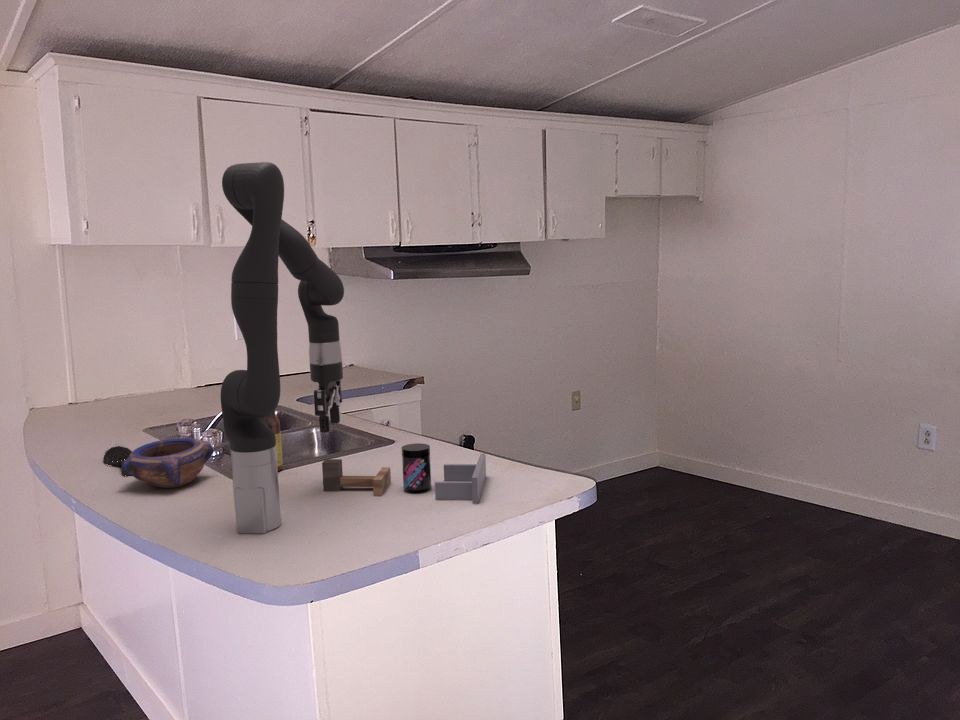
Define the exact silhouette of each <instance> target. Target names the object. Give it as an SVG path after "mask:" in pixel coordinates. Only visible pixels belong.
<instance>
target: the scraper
mask: <svg viewBox="0 0 960 720" xmlns="http://www.w3.org/2000/svg"><path fill="white" fill-rule="evenodd" d="M321 466H322V467H321V468H322V483H323V484H322V485H323V492H341V491H342V489H343V488H372V489H373V492H372V493H373V497H383V495H384V494H385V492H386V491H387V490H388V488H389V487H388V486H390V485H391V484H390V483H392V480H391V479H392V477H391V467H385V466H384V467H383V466H382V467H381V468H380V470H379V471H378V473H377V474H376V475H343V474H344V472H343V459H341V458H340V459H339V458H337V459H335V458H334V459H332V458H331V459H330V458H329V459H328V458H326V459H324V460H323V461H322V463H321ZM386 489H387V490H386Z"/></svg>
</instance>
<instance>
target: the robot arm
mask: <svg viewBox="0 0 960 720" xmlns="http://www.w3.org/2000/svg"><path fill="white" fill-rule="evenodd" d="M221 187H222V191H223V195H224V196H225V199H226V200H227V201H228V202H229V204H230V205H231V206H232V207H233V208H234V209H235V211H236V212H238V214H239V215H241V216H242V217H243V218H244V220H246V221H247V222H248V223H249V225H250V226H251V231H250V235H249V238H248V240H247V242H246V244H245V245H244V248H243V249H242V251H241V252H240V254H239V257H237V260H236V262H235V264H234V267H233V270H232V272H231V284H230V285H231V287H230V288H231V289H230V293H231V294H230V301H231V302H230V303H231V310H232V313H233V316H234V318H235V322H236V324H237V325H238V328H239V331H240V333H241V334H242V338H243V341H244V343H245V348H246V369H235V370H233V371H230V372H229V373H228V374H227V375H226V376H225V378H224V379H223V381H222V383H221V387H220V405H221V414H222V422H223V429H224V430H223V431H224V434H225V436H226V438H227V440H228V442H229V448H230V465H231V477H232V478H231V480H232V490H233V491H232V492H233V503H234V513H235V526H236V534H266V533H267V532H269V531H272V530H276V529H277V528H279V527H280V526H281V525H282V513H281V512H282V511H281V502H280V501H281V500H280V499H281V498H280V483H279V473H278V468H277V452H276V438H275V433H274V432H273V430H271V429H270V428H269V427H268V426H267V425H266V424H265V423H264V422H263V420H262V418H261V417H266V416H269V415H270V414H272V413H273V412H274V411H275V412H276V409H277V408H278V406H279V405H278V404H279V402H280V398H281V377H280V374H281V373H280V364H279V353H278V352H279V351H278V304H279V258H280V260H281V261H282V263H283V264H284V266H285V267H286V269H287V270H288V271H289V273H290V274H291V275H292V277H293V278H294V279H296V280H298V281H299V282H298V286H297V287H298V288H297V296H298V299H299V303H300V306H301V309H302V311H303V314H304V317H305V320H306V323H307V329H308V342H309V345H308V359H309V360H308V361H309V373H310V375H309V376H310V381H311V382H313V383H317V384H318V389H314V390H313V399H314V401H313V402H314V403H313V404H314V416H315V417H318V418H319V419H318V422H319V431H320V433H329V432H330V431H331V424H339V423H340V422H341V417H340V414H341V413H340V407H341V404H342V402H343V395H342V385H341V383H342V379H343V378H344V370H343V357H342V356H343V355H342V346H341V341H340V327H339V326H340V325H339V320H338V318H337V317H336V316H335V315H331V314H328V313H326V312H325V311H324V308H323V306H336V305H337V304H340V302H341V301H342V300H343V298H344V295H345V287H344V284H343V281H342V280H341V278H340V276H338V274H337V273H336V271H334V270H333V269H331V268H330V267H329V265H327V264H326V263H325V262H324V261H323V260H321V259H320V258H319V257H318V255H317V254H316V252H315V250H314V249H313V247H312V246H311V245H310V243H309V241H308V240H307V239H306V237H305V236H304V235H303V234H302V233H301V232H300V231H298V230H297V229H296V228H294V227H293V226H292V225H290V224H289V223H288V222H286V221H285V220H283V219H282V217H283V209H284V200H285V182H284V177H283V174H282V171H281V170H280V168H279V167H278V166H277V164H275V163H272V162H269V161H266V162H265V161H260V162H245V163H235V164H233V165H230V166H228V167H227V168H226V169H225V170H224V172H223V175H222V179H221Z"/></svg>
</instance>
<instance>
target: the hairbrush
mask: <svg viewBox="0 0 960 720" xmlns="http://www.w3.org/2000/svg"><path fill="white" fill-rule="evenodd" d="M114 445H116V446H111V447H110V448H108V449H105V450H104V451H105V452H104V453H103V463H104V465H105V464H108V465H112V466H116V467H121V473H122V476H124V475H126V476H131V477H133V476H132V475H130V474H129V473H128V472H127V471H126V470H125V469H124V467H123V462H124V459H125V460H126V459H127V458H128V457H129V456H130V454H131V453H132V451H133V450H131V449H130V448H129V447H127V446H121V445H119V443H116V444H114ZM120 459H121V460H122V461H121V460H120ZM112 461H113V462H112ZM117 461H118V462H117ZM108 465H107V466H108Z"/></svg>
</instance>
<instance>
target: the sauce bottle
mask: <svg viewBox="0 0 960 720" xmlns="http://www.w3.org/2000/svg"><path fill="white" fill-rule="evenodd" d="M261 418H262V420H263V422H264V423H265V424H266V425H267V426H268V427H269V428H270V429H271V430H273V432H274V433H275V438H276V452H277V468H278V471H279V472H280V470H281V471H282V470H283V462H284V461H283V447H282V446H283V445H282V431H281V421H280V419H279V417H278V416H277V415H276V410H275V411H274V412H273V413H272V414H270V415H269V416H266V417H261Z"/></svg>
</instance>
